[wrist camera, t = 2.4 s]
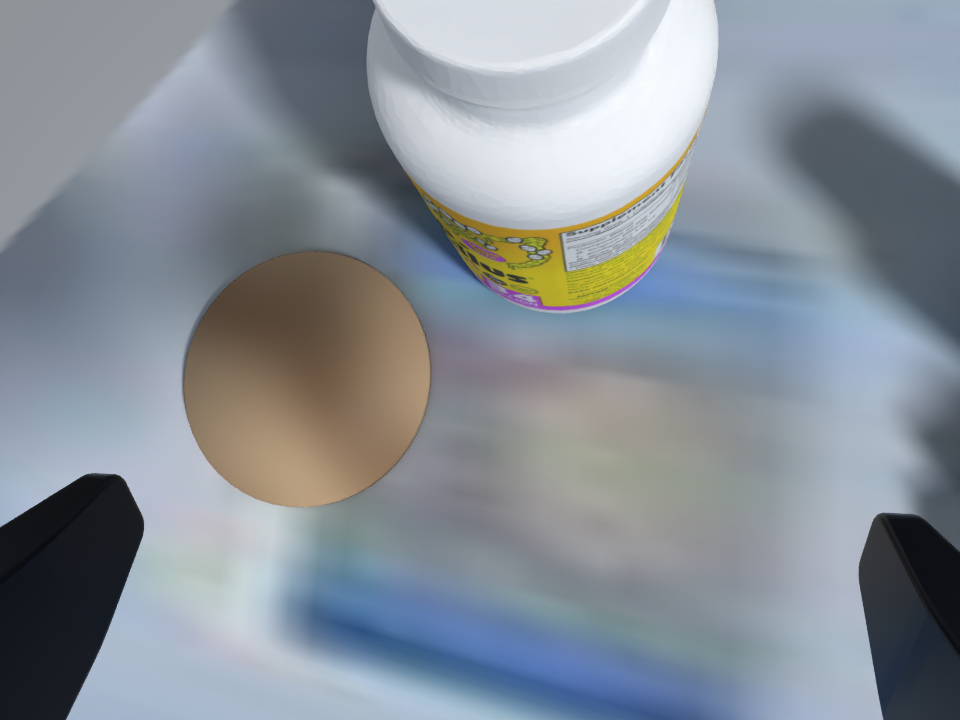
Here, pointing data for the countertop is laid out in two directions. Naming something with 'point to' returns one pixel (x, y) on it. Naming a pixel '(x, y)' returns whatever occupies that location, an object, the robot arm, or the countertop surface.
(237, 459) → the cork coaster
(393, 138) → the supplement bottle
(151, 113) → the countertop surface
